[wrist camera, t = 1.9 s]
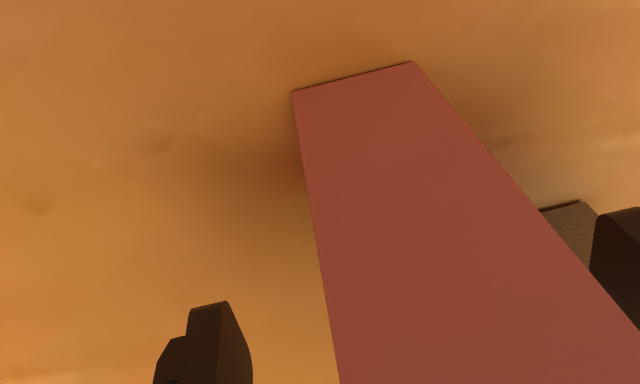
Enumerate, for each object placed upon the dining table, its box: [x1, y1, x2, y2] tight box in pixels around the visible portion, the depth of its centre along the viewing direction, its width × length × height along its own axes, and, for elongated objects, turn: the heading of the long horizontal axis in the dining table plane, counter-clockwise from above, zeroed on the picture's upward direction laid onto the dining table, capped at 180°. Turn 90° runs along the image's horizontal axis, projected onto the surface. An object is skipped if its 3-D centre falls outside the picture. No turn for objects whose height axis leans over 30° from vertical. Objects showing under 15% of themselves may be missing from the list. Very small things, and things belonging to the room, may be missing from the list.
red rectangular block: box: [291, 61, 640, 384], centre depth 11 cm, size 4×4×11 cm
